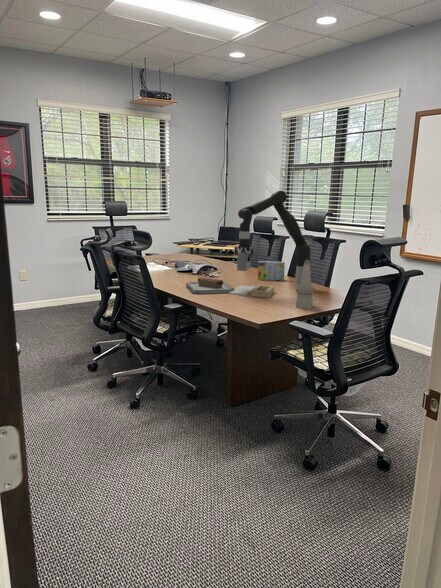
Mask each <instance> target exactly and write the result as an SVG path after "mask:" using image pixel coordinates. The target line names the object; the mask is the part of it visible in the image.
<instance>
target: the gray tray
mask: <svg viewBox="0 0 441 588" xmlns="http://www.w3.org/2000/svg"><path fill="white" fill-rule="evenodd" d="M185 286H186V288H187V290H189V291H190V293H191V294H192V295H194V294H195V295H211V294H212V295H214V294H219V295H220V294H229V292H232V291H234V289H235V288H234V287H233V286H232V285H230V284H229V283H228V282H226V281H223V280H222V279H218V278H217V279H215V278H209V277H203V278H202V277H198V278H197V281H189V282H186V283H185Z"/></svg>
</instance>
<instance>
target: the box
mask: <svg viewBox="0 0 441 588" xmlns="http://www.w3.org/2000/svg"><path fill="white" fill-rule="evenodd" d="M249 253H250V254H251V251H249ZM236 256H237V258H236V259H237V260H236V262H237V263H236V271H242V272H246V271H248V270H249V269H251V260H250V261H249V262H248V253H246V252H241V253H239V252H238V253H237V255H236Z"/></svg>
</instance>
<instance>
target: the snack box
mask: <svg viewBox="0 0 441 588" xmlns="http://www.w3.org/2000/svg"><path fill="white" fill-rule="evenodd" d="M257 262H258V264H257V265H258V266H257V280H258V281H276V280H280V281H281V282H282V281H283V282H284V281H285V266H286V264H285V261H268V260H267V261H265V260H264V261H263V260H258V261H257ZM280 281H279V282H280Z"/></svg>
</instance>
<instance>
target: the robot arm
mask: <svg viewBox="0 0 441 588" xmlns="http://www.w3.org/2000/svg"><path fill="white" fill-rule="evenodd" d="M287 199H288V195H287V193H286V191H284V190H277V191H276V192H273V193H272V194H271V196H269V197H267V198H265V199H263V200H259V201H258V202H256V203H254V204H252V205H249V206H246V207H243V208H240V209H239V210H238V213H237V216H238V217H239V219H242V220H243V221H242V222H240V224H239V236H238V246H237V245H236V246H234V255H235V256H237V253H241V252H246V253H248V262H249V261H250V262H251V257H253V255H254V250H255V247H251V246H250V245H251V244H250V243H251V232H250V231H251V223H252V219H253V216H255V215H257V214H260V213H262V212H264V211H266V210H267V209H269V208H271V207H273V208H274V209H275V211H276V212H277V214H278V216H279V217H280V220H281V221H282V223H283V225H284V227H285V229H286V232H287V233H288V234H289V236H290V238H291V239H292V240H293V242H294V244H295V247H296V249H297V251H296V252H297V254H296V255H297V256H296V268H295V271H296V272H295V285H294V286H295V287H294V288H295V289H296V288H297V286H298V285H300V282H301V277H302V272H303V266H304V262H305V261H306V260H307V259H308V261H309V262H310V263H311V247H310V245H309V244H308V242H307V241H306V239H305V238H304V236H303V233H302V230H301V227H300V225H299V222H298V221H297V219H296V217H295V216H294V215H293V214H292V213H291V212H289V211H288V210H287V209H286V207H285V205H284V203H285V202H286V201H287ZM238 250H239V251H238ZM249 252H250V253H249Z"/></svg>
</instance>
